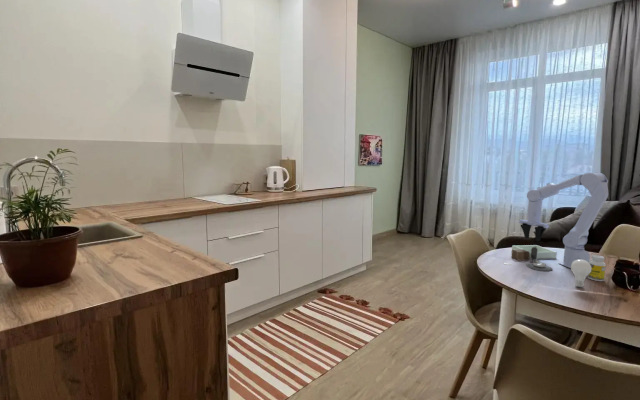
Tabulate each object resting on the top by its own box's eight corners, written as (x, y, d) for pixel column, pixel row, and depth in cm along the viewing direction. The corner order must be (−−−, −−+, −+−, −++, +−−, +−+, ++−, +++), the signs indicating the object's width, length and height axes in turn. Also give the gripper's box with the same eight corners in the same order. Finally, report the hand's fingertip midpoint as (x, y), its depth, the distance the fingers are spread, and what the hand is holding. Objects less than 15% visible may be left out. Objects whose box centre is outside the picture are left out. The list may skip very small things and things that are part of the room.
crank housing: (548, 265, 160) (548, 264, 160) (555, 272, 151) (555, 271, 151) (501, 261, 166) (501, 260, 166) (505, 267, 157) (505, 266, 157)
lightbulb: (567, 287, 132) (570, 259, 131) (570, 283, 137) (572, 256, 136) (588, 291, 128) (591, 263, 127) (590, 287, 133) (593, 259, 132)
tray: (556, 259, 172) (556, 252, 171) (530, 259, 170) (530, 252, 170) (535, 251, 185) (536, 245, 185) (511, 252, 184) (512, 245, 183)
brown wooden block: (529, 251, 168) (518, 251, 168) (528, 260, 169) (517, 260, 168) (522, 249, 173) (512, 249, 172) (522, 257, 173) (511, 258, 173)
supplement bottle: (584, 277, 144) (586, 255, 142) (592, 276, 146) (594, 254, 145) (599, 282, 139) (601, 258, 138) (606, 280, 141) (609, 257, 140)
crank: (547, 268, 154) (548, 254, 153) (534, 267, 155) (535, 253, 155) (538, 260, 167) (539, 247, 166) (527, 259, 168) (528, 246, 168)
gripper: (553, 215, 168) (551, 242, 169) (526, 210, 181) (524, 236, 183) (544, 215, 165) (541, 243, 167) (517, 211, 179) (515, 236, 180)
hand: (532, 239), depth 175 cm, fingers open, 5 cm apart
